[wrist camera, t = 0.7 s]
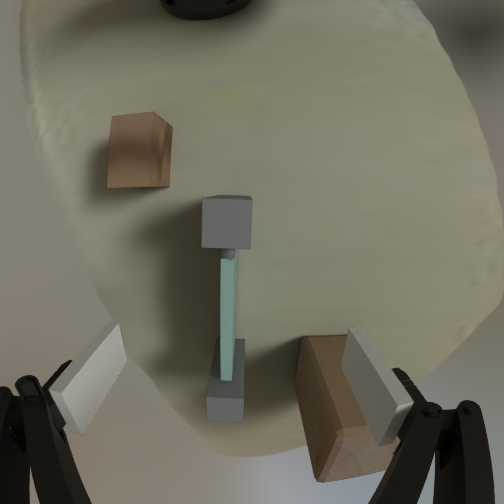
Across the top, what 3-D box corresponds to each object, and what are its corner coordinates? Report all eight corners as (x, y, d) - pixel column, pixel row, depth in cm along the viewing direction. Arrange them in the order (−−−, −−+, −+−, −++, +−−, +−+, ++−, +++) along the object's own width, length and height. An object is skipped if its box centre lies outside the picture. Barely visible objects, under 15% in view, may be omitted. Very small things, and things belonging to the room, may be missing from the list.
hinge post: (218, 195, 35) (202, 198, 22) (250, 196, 35) (252, 199, 22) (218, 226, 35) (201, 247, 23) (249, 227, 36) (250, 249, 23)
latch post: (217, 337, 39) (206, 396, 26) (244, 339, 39) (244, 398, 26) (217, 359, 40) (207, 420, 27) (244, 361, 40) (243, 422, 27)
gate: (227, 229, 35) (220, 245, 25) (239, 230, 35) (235, 246, 25) (225, 336, 38) (220, 380, 29) (235, 337, 38) (232, 380, 29)
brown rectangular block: (137, 129, 32) (111, 116, 25) (172, 126, 33) (153, 111, 25) (134, 187, 34) (107, 188, 26) (169, 186, 34) (148, 186, 27)
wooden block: (292, 385, 41) (313, 486, 22) (300, 333, 39) (335, 437, 20) (349, 382, 42) (391, 471, 22) (362, 332, 39) (425, 418, 20)
